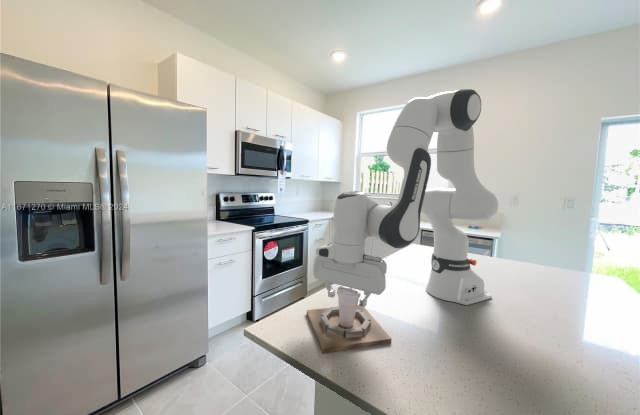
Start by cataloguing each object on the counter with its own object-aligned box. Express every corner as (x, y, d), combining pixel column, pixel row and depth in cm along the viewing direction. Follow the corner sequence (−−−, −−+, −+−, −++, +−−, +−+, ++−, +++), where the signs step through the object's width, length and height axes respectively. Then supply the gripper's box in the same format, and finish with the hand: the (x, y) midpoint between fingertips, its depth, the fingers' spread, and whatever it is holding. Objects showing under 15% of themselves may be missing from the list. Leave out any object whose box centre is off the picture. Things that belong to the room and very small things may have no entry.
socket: (361, 308, 81) (362, 300, 81) (391, 343, 64) (391, 332, 64) (306, 313, 76) (306, 305, 76) (322, 353, 59) (322, 342, 59)
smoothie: (357, 332, 66) (361, 282, 64) (332, 328, 67) (336, 278, 65) (358, 318, 72) (362, 272, 70) (336, 314, 73) (340, 269, 71)
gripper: (390, 255, 66) (387, 306, 67) (322, 243, 76) (320, 288, 77) (383, 262, 60) (380, 317, 62) (310, 248, 70) (309, 296, 72)
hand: (346, 300), depth 70 cm, fingers open, 8 cm apart
